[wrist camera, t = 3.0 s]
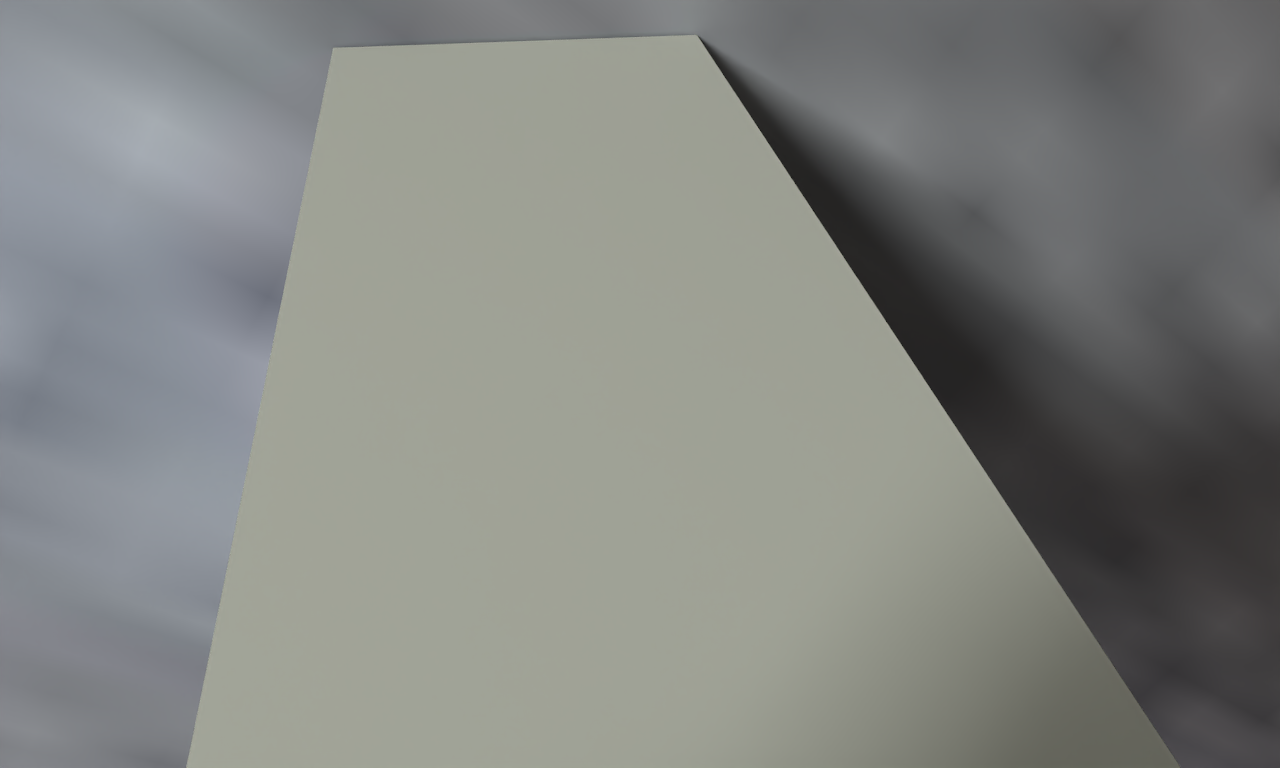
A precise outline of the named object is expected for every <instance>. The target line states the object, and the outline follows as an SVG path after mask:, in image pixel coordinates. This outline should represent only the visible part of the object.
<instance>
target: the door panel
mask: <svg viewBox="0 0 1280 768" xmlns="http://www.w3.org/2000/svg"><path fill="white" fill-rule="evenodd" d="M186 768H1180V766H1179V765H1178V763H1177V761H1176V760H1175V758H1174V757H1173V755H1172V754H1171V752H1170V751H1169V749H1168V748H1167V746H1166V745H1165V743H1164V742H1163V740H1162V739H1161V737H1160V736H1159V734H1158V733H1157V731H1156V730H1155V728H1154V727H1153V725H1152V724H1151V722H1150V721H1149V719H1148V718H1147V716H1146V715H1145V713H1144V711H1143V710H1142V708H1141V707H1140V705H1139V704H1138V702H1137V701H1136V699H1135V698H1134V696H1133V695H1132V693H1131V692H1130V690H1129V689H1128V687H1127V686H1126V684H1125V683H1124V681H1123V680H1122V678H1121V677H1120V675H1119V674H1118V672H1117V671H1116V669H1115V668H1114V666H1113V665H1112V663H1111V662H1110V660H1109V658H1108V657H1107V655H1106V654H1105V652H1104V651H1103V649H1102V648H1101V646H1100V645H1099V643H1098V642H1097V640H1096V639H1095V637H1094V636H1093V634H1092V633H1091V631H1090V630H1089V628H1088V627H1087V625H1086V624H1085V622H1084V621H1083V619H1082V618H1081V616H1080V615H1079V613H1078V612H1077V610H1076V609H1075V607H1074V605H1073V604H1072V602H1071V601H1070V599H1069V598H1068V596H1067V595H1066V593H1065V592H1064V590H1063V589H1062V587H1061V586H1060V584H1059V583H1058V581H1057V580H1056V578H1055V577H1054V575H1053V574H1052V572H1051V571H1050V569H1049V568H1048V566H1047V565H1046V563H1045V562H1044V560H1043V559H1042V557H1041V555H1040V554H1039V552H1038V551H1037V549H1036V548H1035V546H1034V545H1033V543H1032V542H1031V540H1030V539H1029V537H1028V536H1027V534H1026V533H1025V531H1024V530H1023V528H1022V527H1021V525H1020V524H1019V522H1018V521H1017V519H1016V518H1015V516H1014V515H1013V513H1012V512H1011V510H1010V509H1009V507H1008V506H1007V504H1006V502H1005V501H1004V499H1003V498H1002V496H1001V495H1000V493H999V492H998V490H997V489H996V487H995V486H994V484H993V483H992V481H991V480H990V478H989V477H988V475H987V474H986V472H985V471H984V469H983V468H982V466H981V465H980V463H979V462H978V460H977V459H976V457H975V456H974V454H973V453H972V451H971V449H970V448H969V446H968V445H967V443H966V442H965V440H964V439H963V437H962V436H961V434H960V433H959V431H958V430H957V428H956V427H955V425H954V424H953V422H952V421H951V419H950V418H949V416H948V415H947V413H946V412H945V410H944V409H943V407H942V406H941V404H940V403H939V401H938V399H937V398H936V396H935V395H934V393H933V392H932V390H931V389H930V387H929V386H928V384H927V383H926V381H925V380H924V378H923V377H922V375H921V374H920V372H919V371H918V369H917V368H916V366H915V365H914V363H913V362H912V360H911V359H910V357H909V356H908V354H907V353H906V351H905V350H904V348H903V346H902V345H901V343H900V342H899V340H898V339H897V337H896V336H895V334H894V333H893V331H892V330H891V328H890V327H889V325H888V324H887V322H886V321H885V319H884V318H883V316H882V315H881V313H880V312H879V310H878V309H877V307H876V306H875V304H874V303H873V301H872V300H871V298H870V297H869V295H868V293H867V292H866V290H865V289H864V287H863V286H862V284H861V283H860V281H859V280H858V278H857V277H856V275H855V274H854V272H853V271H852V269H851V268H850V266H849V265H848V263H847V262H846V260H845V259H844V257H843V256H842V254H841V253H840V251H839V250H838V248H837V247H836V245H835V243H834V242H833V240H832V239H831V237H830V236H829V234H828V233H827V231H826V230H825V228H824V227H823V225H822V224H821V222H820V221H819V219H818V218H817V216H816V215H815V213H814V212H813V210H812V209H811V207H810V206H809V204H808V203H807V201H806V200H805V198H804V197H803V195H802V194H801V192H800V190H799V189H798V187H797V186H796V184H795V183H794V181H793V180H792V178H791V177H790V175H789V174H788V172H787V171H786V169H785V168H784V166H783V165H782V163H781V162H780V160H779V159H778V157H777V156H776V154H775V153H774V151H773V150H772V148H771V147H770V145H769V144H768V142H767V141H766V139H765V137H764V136H763V134H762V133H761V131H760V130H759V128H758V127H757V125H756V124H755V122H754V121H753V119H752V118H751V116H750V115H749V113H748V112H747V110H746V109H745V107H744V106H743V104H742V103H741V101H740V100H739V98H738V97H737V95H736V94H735V92H734V91H733V89H732V87H731V86H730V84H729V83H728V81H727V80H726V78H725V77H724V75H723V74H722V72H721V71H720V69H719V68H718V66H717V65H716V63H715V62H714V60H713V59H712V57H711V56H710V54H709V53H708V51H707V50H706V48H705V47H704V45H703V44H702V42H701V41H700V39H699V38H698V36H697V35H682V36H653V37H625V38H597V39H569V40H541V41H513V42H485V43H457V44H429V45H401V46H373V47H345V48H333V52H332V57H331V62H330V67H329V71H328V76H327V81H326V86H325V91H324V96H323V101H322V106H321V111H320V116H319V120H318V125H317V130H316V135H315V140H314V145H313V150H312V155H311V160H310V165H309V169H308V174H307V179H306V184H305V189H304V194H303V199H302V204H301V209H300V214H299V218H298V223H297V228H296V233H295V238H294V243H293V248H292V253H291V258H290V263H289V267H288V272H287V277H286V282H285V287H284V292H283V297H282V302H281V307H280V312H279V316H278V321H277V326H276V331H275V336H274V341H273V346H272V351H271V356H270V361H269V365H268V370H267V375H266V380H265V385H264V390H263V395H262V400H261V405H260V410H259V414H258V419H257V424H256V429H255V434H254V439H253V444H252V449H251V454H250V459H249V463H248V468H247V473H246V478H245V483H244V488H243V493H242V498H241V503H240V508H239V512H238V517H237V522H236V527H235V532H234V537H233V542H232V547H231V552H230V557H229V561H228V566H227V571H226V576H225V581H224V586H223V591H222V596H221V601H220V606H219V610H218V615H217V620H216V625H215V630H214V635H213V640H212V645H211V650H210V655H209V659H208V664H207V669H206V674H205V679H204V684H203V689H202V694H201V699H200V704H199V708H198V713H197V718H196V723H195V728H194V733H193V738H192V743H191V748H190V753H189V757H188V762H187V767H186Z"/></svg>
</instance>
